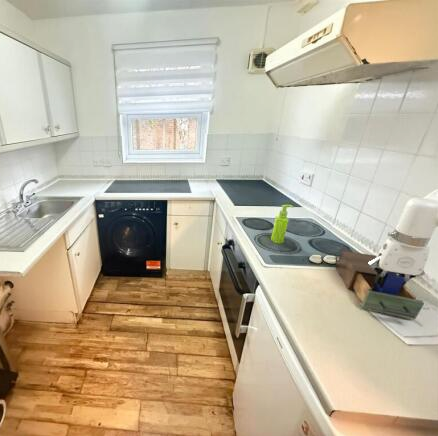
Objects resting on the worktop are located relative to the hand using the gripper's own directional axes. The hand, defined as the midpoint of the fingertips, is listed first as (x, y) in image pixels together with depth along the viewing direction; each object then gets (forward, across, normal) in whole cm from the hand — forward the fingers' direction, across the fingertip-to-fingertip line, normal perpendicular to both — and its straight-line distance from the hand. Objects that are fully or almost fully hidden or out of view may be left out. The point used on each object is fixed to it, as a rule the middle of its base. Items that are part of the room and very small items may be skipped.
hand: (386, 286), depth 80 cm
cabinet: (+8, 0, +13) cm, 15 cm away
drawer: (+7, 0, -1) cm, 7 cm away
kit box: (+6, 0, 0) cm, 6 cm away
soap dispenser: (+8, -28, +39) cm, 49 cm away
